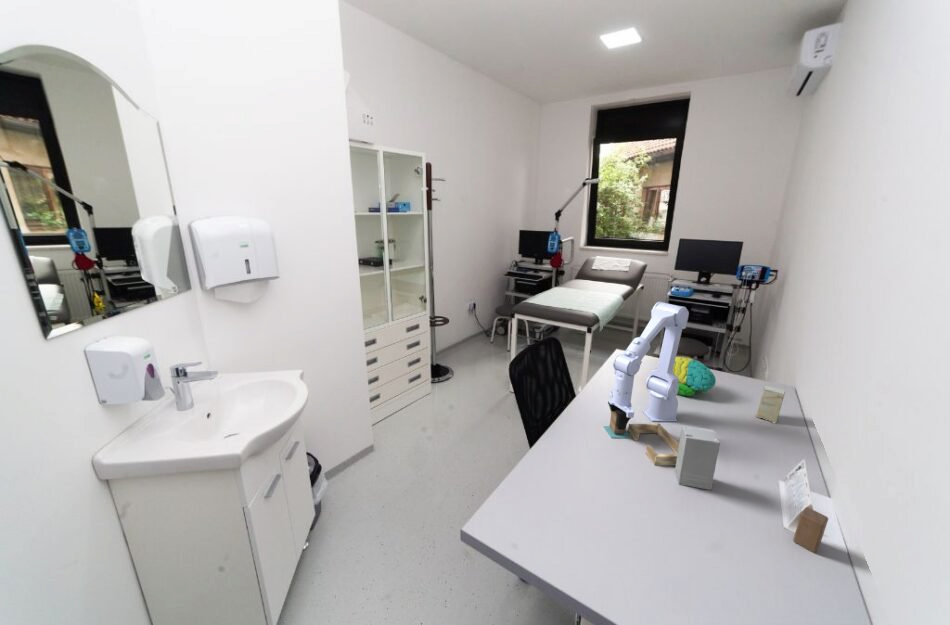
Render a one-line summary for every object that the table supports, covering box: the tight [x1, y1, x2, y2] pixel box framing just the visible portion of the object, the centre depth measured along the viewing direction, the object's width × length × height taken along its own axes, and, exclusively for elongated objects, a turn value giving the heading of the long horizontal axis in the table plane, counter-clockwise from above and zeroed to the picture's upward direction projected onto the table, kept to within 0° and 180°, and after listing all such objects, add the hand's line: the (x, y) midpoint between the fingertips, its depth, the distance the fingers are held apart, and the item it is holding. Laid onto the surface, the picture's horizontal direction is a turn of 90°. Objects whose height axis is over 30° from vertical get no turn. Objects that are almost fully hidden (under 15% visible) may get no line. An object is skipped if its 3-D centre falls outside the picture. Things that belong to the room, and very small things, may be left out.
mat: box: [603, 425, 633, 439], centre depth 127 cm, size 7×7×1 cm
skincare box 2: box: [756, 385, 786, 424], centre depth 137 cm, size 6×4×12 cm
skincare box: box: [674, 424, 721, 491], centre depth 102 cm, size 8×7×16 cm
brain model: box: [655, 356, 717, 397], centre depth 159 cm, size 24×19×15 cm
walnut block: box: [608, 410, 628, 433], centre depth 126 cm, size 4×4×6 cm
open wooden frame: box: [627, 423, 679, 466], centre depth 119 cm, size 11×18×3 cm, turn 3°
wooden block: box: [793, 506, 829, 554], centre depth 84 cm, size 4×4×8 cm
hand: (618, 425), depth 126 cm, fingers closed on walnut block, 4 cm apart
